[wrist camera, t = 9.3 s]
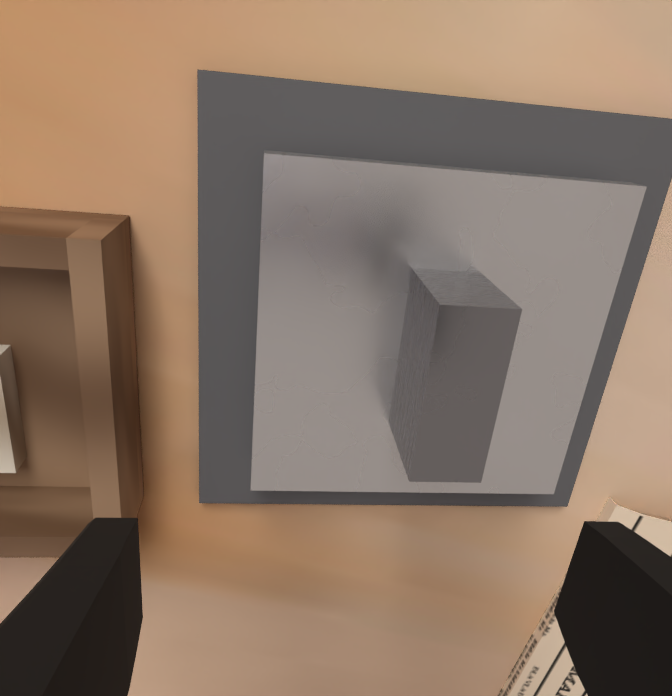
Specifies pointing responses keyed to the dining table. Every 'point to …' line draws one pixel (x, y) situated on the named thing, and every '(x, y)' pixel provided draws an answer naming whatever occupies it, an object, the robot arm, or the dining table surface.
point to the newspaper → (547, 641)
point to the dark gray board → (386, 145)
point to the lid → (427, 322)
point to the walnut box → (66, 378)
